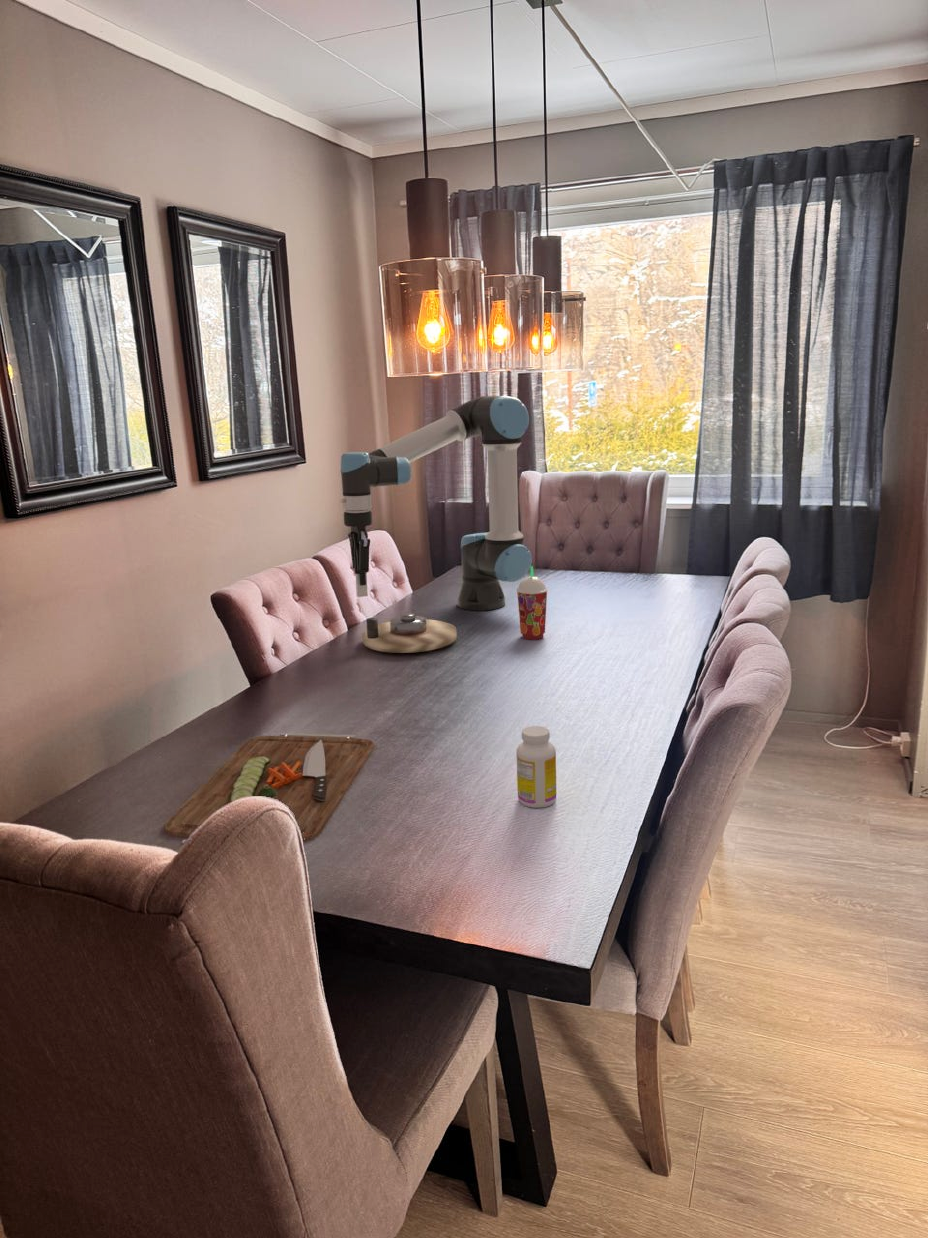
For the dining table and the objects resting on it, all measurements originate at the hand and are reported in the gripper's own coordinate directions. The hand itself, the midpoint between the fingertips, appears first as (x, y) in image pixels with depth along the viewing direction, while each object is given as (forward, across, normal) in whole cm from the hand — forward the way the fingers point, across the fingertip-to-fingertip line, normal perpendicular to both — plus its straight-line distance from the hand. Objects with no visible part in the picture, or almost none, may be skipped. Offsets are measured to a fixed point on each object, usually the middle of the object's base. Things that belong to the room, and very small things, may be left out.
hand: (362, 595), depth 245 cm
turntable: (+12, +7, +11) cm, 18 cm away
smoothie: (+13, +19, +43) cm, 49 cm away
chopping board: (+15, +80, -40) cm, 91 cm away
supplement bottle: (+14, +107, -1) cm, 108 cm away
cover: (+10, +6, +11) cm, 16 cm away
